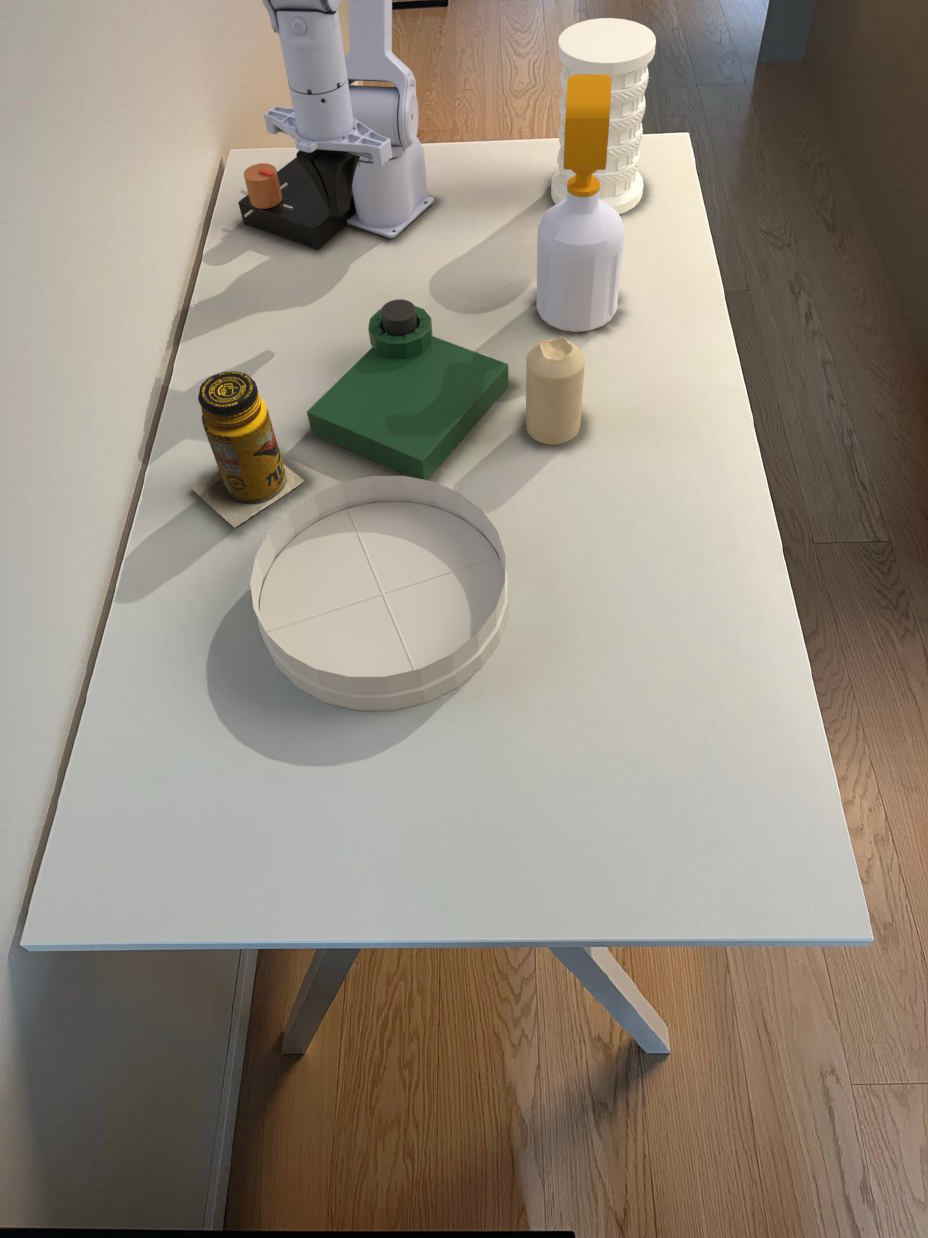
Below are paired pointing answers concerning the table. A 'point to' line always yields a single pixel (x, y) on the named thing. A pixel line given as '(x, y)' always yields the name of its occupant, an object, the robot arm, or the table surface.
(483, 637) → the dish
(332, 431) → the button base
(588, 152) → the soap bottle
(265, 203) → the dial
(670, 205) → the table surface
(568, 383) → the candle
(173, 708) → the table surface
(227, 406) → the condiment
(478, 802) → the table surface
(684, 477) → the table surface
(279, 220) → the panel
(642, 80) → the decorative container
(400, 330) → the dark grey short cylinder
